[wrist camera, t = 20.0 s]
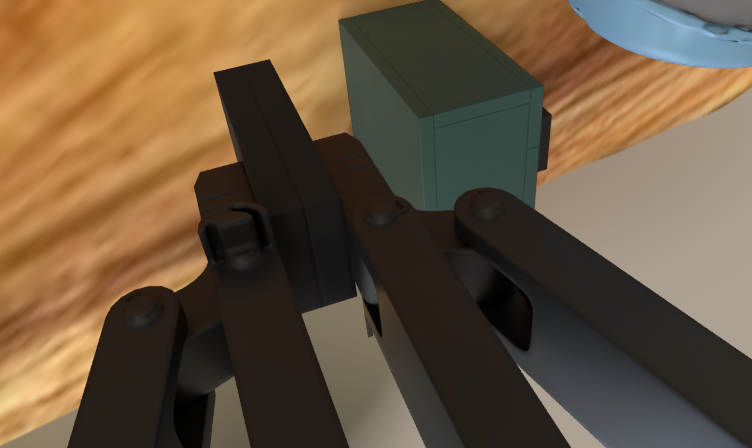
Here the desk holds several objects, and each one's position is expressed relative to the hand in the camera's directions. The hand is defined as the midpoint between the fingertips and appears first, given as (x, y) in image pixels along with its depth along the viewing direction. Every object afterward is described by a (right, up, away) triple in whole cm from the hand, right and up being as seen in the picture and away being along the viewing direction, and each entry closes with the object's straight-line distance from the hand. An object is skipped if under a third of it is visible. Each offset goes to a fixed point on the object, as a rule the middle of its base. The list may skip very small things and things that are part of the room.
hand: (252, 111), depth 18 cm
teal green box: (+5, +7, +30) cm, 31 cm away
